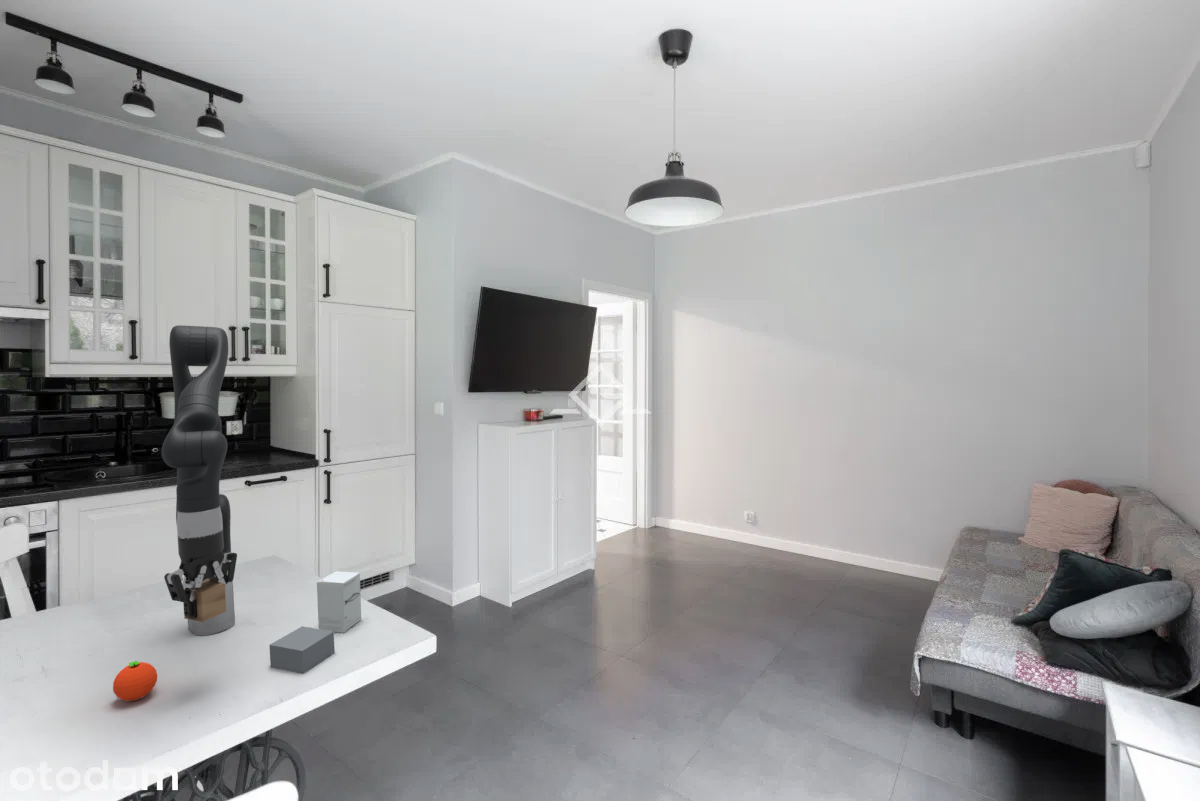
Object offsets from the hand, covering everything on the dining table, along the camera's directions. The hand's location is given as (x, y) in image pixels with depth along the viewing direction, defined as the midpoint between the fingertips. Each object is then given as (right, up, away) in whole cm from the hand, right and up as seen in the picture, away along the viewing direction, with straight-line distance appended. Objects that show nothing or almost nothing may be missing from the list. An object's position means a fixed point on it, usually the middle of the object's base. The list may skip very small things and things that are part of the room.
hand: (205, 611), depth 118 cm
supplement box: (+15, -14, +28) cm, 35 cm away
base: (+14, -15, +12) cm, 24 cm away
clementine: (-12, -16, -2) cm, 21 cm away
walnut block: (0, -1, 0) cm, 1 cm away
